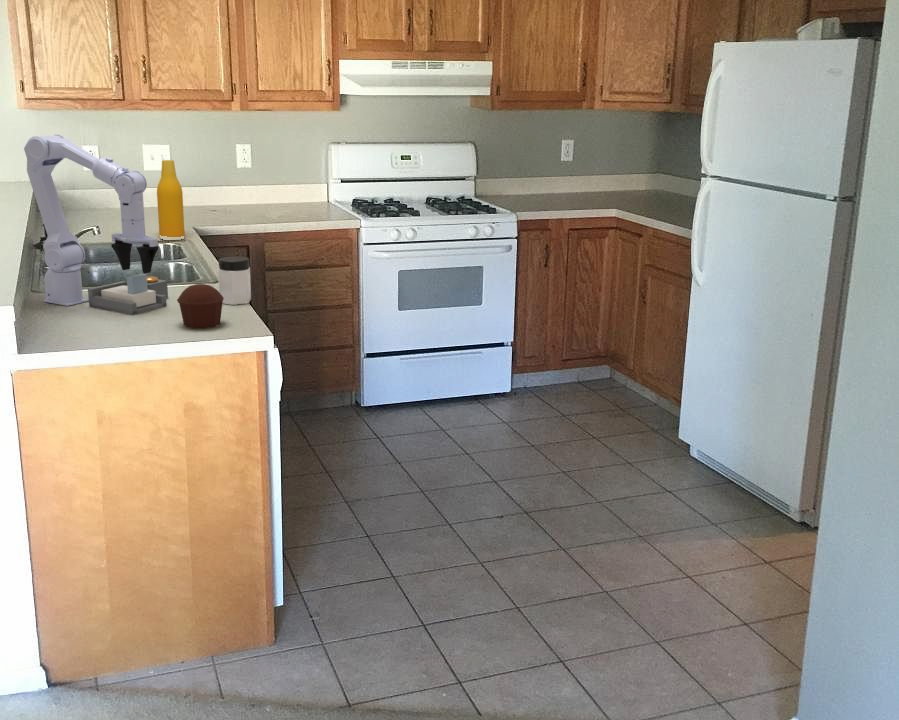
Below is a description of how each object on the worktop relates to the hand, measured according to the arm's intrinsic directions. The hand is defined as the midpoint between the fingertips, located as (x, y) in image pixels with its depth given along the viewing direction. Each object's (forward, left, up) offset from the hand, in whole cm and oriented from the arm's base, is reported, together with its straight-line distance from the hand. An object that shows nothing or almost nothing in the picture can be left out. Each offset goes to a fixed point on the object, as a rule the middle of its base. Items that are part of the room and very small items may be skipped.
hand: (136, 271), depth 256 cm
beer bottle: (-73, +86, -10) cm, 114 cm away
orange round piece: (-6, +10, -8) cm, 14 cm away
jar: (+15, +21, -10) cm, 28 cm away
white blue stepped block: (-4, 0, -9) cm, 9 cm away
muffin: (+25, -3, -10) cm, 27 cm away
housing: (-4, +4, -10) cm, 11 cm away
